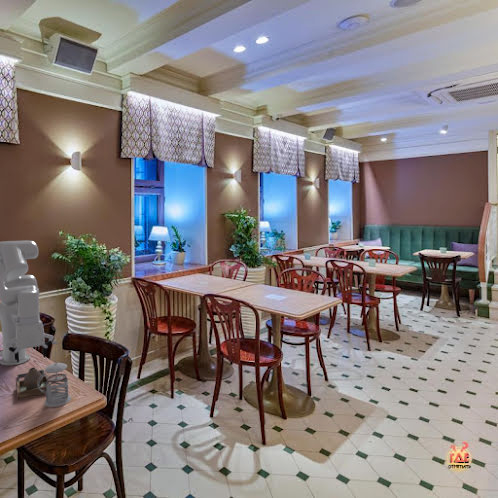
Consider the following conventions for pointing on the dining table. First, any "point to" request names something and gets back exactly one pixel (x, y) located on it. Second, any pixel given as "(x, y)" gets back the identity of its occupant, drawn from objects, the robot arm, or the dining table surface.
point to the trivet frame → (26, 373)
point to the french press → (54, 396)
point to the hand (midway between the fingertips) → (31, 358)
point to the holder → (25, 393)
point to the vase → (32, 379)
